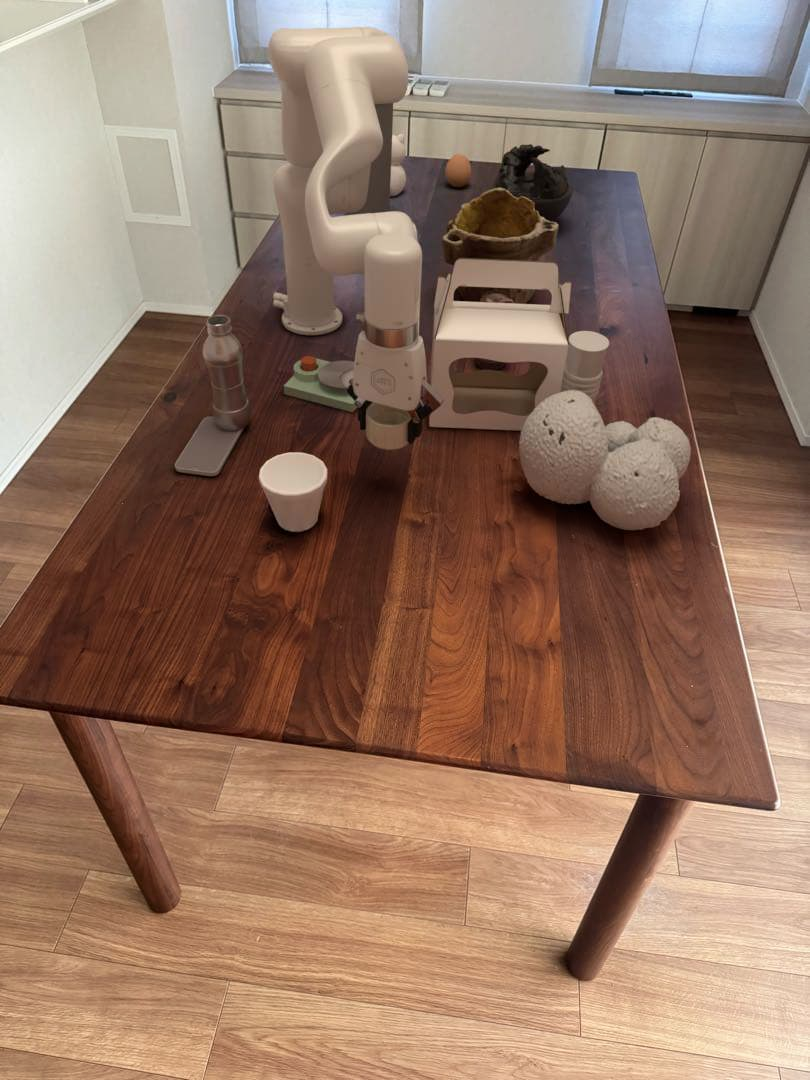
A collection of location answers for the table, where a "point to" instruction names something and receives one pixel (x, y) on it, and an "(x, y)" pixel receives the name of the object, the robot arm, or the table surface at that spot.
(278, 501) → the cup
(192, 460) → the smartphone
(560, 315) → the cardboard gift box
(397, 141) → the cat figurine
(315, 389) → the scale
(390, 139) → the canister
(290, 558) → the table surface
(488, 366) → the can
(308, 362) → the button
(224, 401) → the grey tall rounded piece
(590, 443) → the grey lumpy cluster
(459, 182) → the egg
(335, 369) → the scale plate
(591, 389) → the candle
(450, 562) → the table surface
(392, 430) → the bowl
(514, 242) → the ceramic vessel
